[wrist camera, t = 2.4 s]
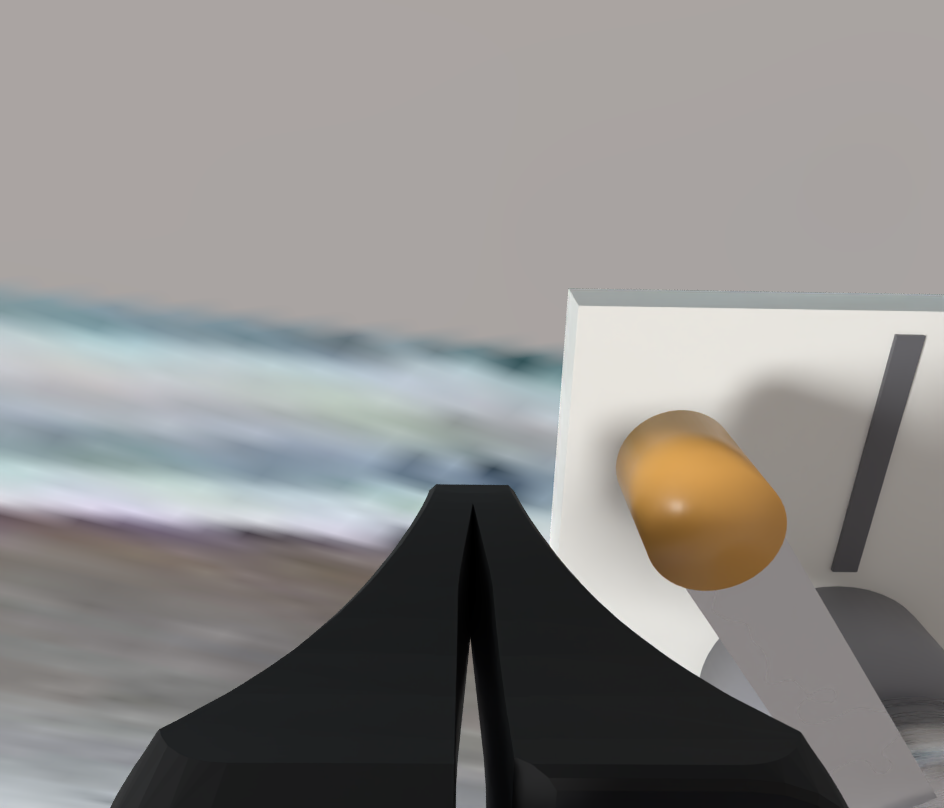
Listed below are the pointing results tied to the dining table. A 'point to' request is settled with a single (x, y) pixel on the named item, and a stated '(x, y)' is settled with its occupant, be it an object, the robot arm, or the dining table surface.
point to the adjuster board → (770, 459)
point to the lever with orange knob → (773, 610)
